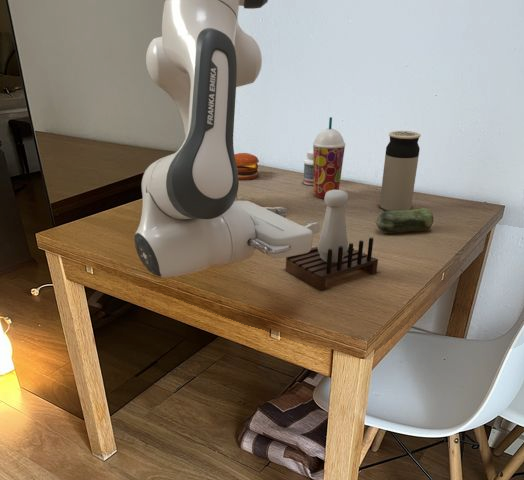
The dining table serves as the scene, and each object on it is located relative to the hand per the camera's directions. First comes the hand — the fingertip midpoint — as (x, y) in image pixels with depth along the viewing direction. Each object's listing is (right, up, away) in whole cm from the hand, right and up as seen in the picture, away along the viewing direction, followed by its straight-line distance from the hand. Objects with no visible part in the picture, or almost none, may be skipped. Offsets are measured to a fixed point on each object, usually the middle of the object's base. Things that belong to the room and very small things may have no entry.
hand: (300, 218), depth 96 cm
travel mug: (+28, +13, +44) cm, 54 cm away
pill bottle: (+8, +25, +63) cm, 68 cm away
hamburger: (-13, +30, +70) cm, 77 cm away
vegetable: (+26, +4, +30) cm, 40 cm away
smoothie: (+11, +19, +53) cm, 57 cm away
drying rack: (+7, -8, +11) cm, 15 cm away
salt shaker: (+7, -6, +9) cm, 13 cm away
